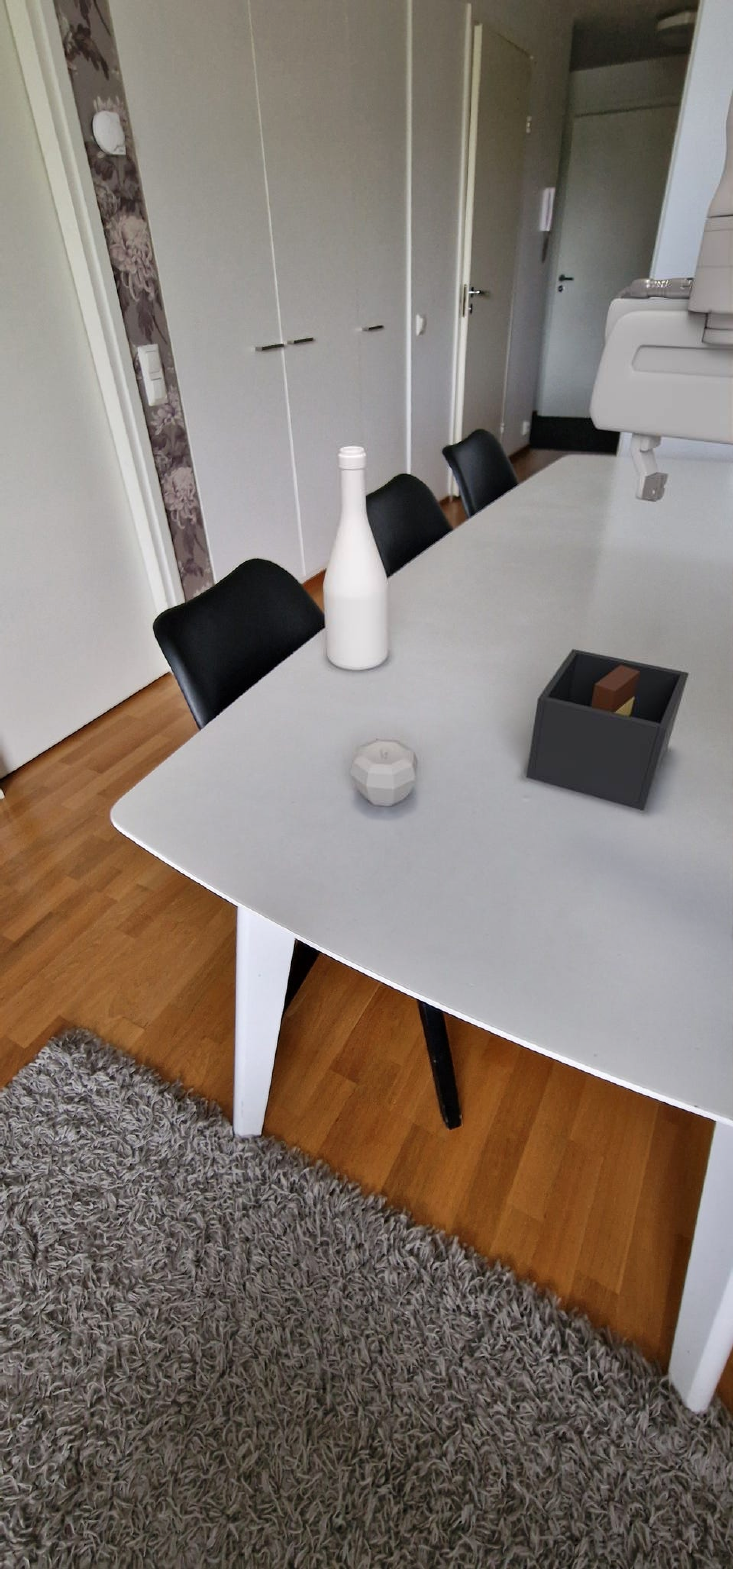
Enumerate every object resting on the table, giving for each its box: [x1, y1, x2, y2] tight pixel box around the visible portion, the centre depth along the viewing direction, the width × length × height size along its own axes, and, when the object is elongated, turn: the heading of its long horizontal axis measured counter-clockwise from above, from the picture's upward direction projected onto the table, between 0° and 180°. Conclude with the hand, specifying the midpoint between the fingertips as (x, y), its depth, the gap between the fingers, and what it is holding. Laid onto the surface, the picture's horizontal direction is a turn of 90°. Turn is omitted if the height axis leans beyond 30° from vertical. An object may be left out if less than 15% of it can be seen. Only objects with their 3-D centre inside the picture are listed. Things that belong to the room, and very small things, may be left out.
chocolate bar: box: [591, 665, 640, 716], centre depth 82 cm, size 2×6×11 cm, turn 137°
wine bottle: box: [322, 445, 389, 671], centre depth 100 cm, size 10×10×30 cm
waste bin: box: [525, 648, 689, 811], centre depth 82 cm, size 14×14×11 cm
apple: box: [349, 738, 419, 807], centre depth 79 cm, size 8×8×7 cm
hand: (710, 510), depth 51 cm, fingers open, 8 cm apart
